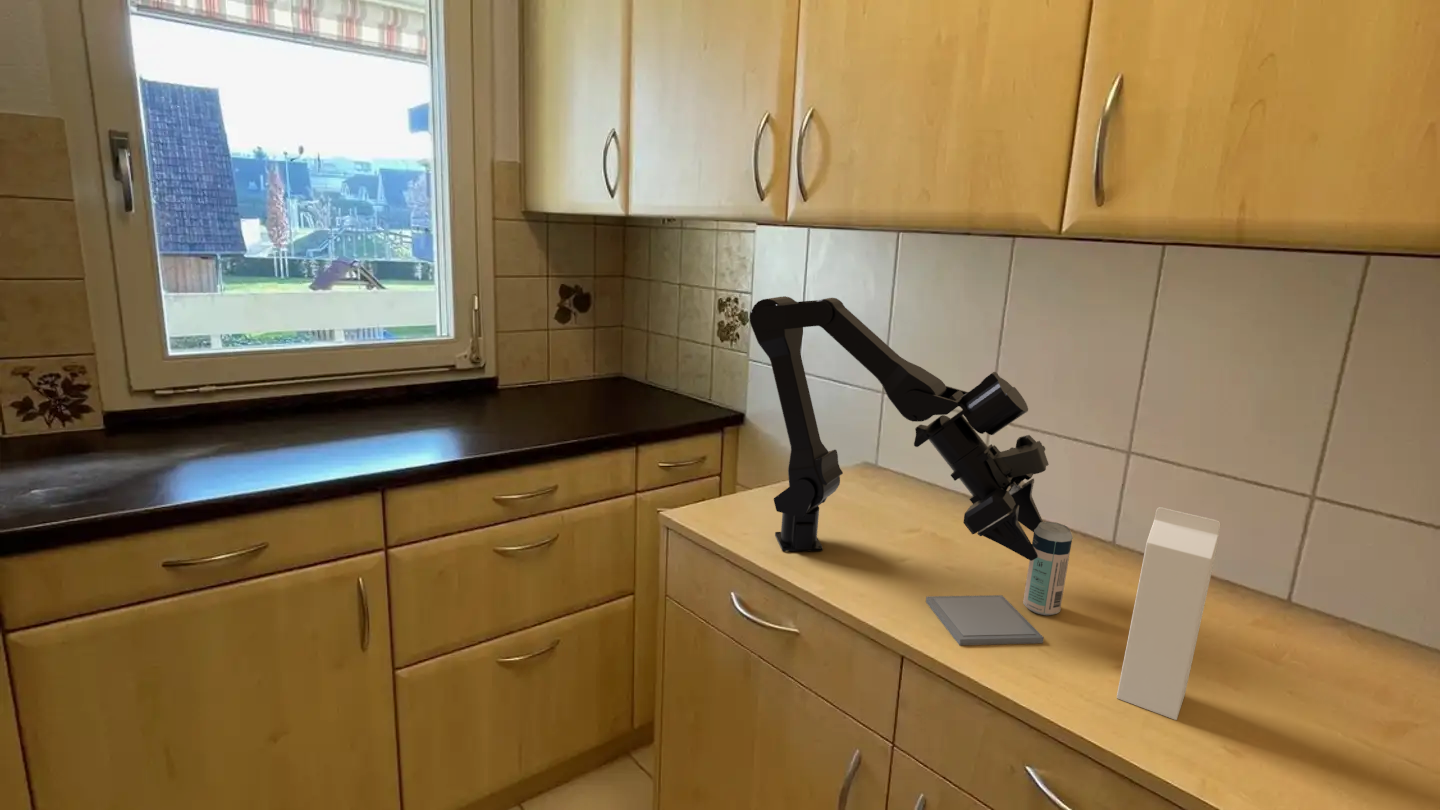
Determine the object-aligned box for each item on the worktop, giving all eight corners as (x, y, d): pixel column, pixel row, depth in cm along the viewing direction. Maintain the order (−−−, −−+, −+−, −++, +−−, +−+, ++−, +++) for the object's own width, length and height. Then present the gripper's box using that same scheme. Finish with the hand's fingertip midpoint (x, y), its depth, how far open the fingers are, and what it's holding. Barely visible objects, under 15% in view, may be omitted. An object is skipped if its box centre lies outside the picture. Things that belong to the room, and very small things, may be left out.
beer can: (1057, 603, 108) (1070, 523, 105) (1062, 620, 103) (1076, 536, 100) (1020, 598, 109) (1033, 518, 106) (1024, 614, 104) (1037, 531, 102)
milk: (1126, 676, 91) (1160, 498, 86) (1185, 696, 88) (1224, 513, 82) (1115, 699, 86) (1151, 513, 81) (1177, 722, 83) (1218, 529, 78)
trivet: (925, 601, 106) (926, 595, 106) (1001, 600, 108) (1002, 594, 108) (959, 645, 96) (960, 638, 96) (1042, 643, 97) (1043, 636, 97)
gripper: (1001, 435, 95) (1085, 540, 93) (1026, 407, 111) (1098, 496, 108) (930, 483, 101) (1008, 583, 98) (964, 450, 117) (1031, 535, 114)
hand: (1040, 546), depth 105 cm, fingers open, 9 cm apart
